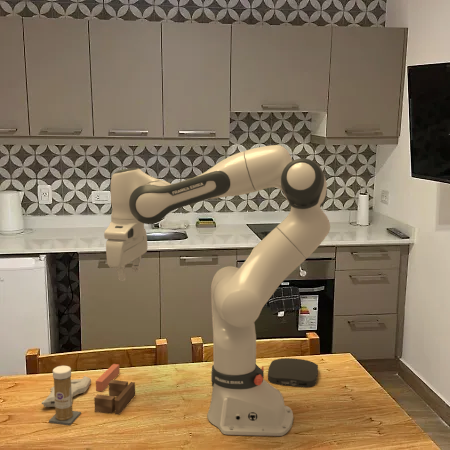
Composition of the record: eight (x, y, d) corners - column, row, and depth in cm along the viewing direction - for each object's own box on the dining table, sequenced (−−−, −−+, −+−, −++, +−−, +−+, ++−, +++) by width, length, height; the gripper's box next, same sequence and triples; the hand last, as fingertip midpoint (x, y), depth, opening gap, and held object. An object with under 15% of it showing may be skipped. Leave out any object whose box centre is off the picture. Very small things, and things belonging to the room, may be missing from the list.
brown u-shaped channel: (135, 395, 165) (134, 382, 164) (119, 414, 154) (118, 400, 153) (112, 392, 166) (111, 379, 166) (94, 411, 156) (94, 397, 155)
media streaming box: (318, 368, 183) (319, 359, 182) (315, 390, 169) (315, 380, 168) (272, 364, 186) (272, 355, 185) (265, 384, 172) (265, 375, 171)
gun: (76, 398, 155) (38, 398, 155) (76, 410, 155) (39, 410, 156) (92, 372, 173) (59, 372, 173) (92, 383, 173) (59, 383, 174)
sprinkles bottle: (54, 421, 150) (51, 373, 147) (56, 412, 154) (54, 365, 151) (72, 420, 150) (69, 372, 148) (74, 411, 155) (72, 364, 152)
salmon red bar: (119, 373, 178) (119, 364, 178) (102, 391, 167) (102, 381, 166) (113, 372, 179) (113, 363, 178) (96, 390, 167) (95, 381, 167)
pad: (81, 413, 155) (80, 411, 154) (70, 425, 149) (69, 423, 149) (60, 411, 156) (60, 409, 156) (48, 422, 150) (48, 420, 150)
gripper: (131, 220, 170) (133, 265, 173) (101, 233, 150) (103, 285, 153) (152, 221, 169) (153, 267, 171) (123, 235, 149) (125, 286, 152)
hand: (129, 275), depth 162 cm, fingers open, 8 cm apart
